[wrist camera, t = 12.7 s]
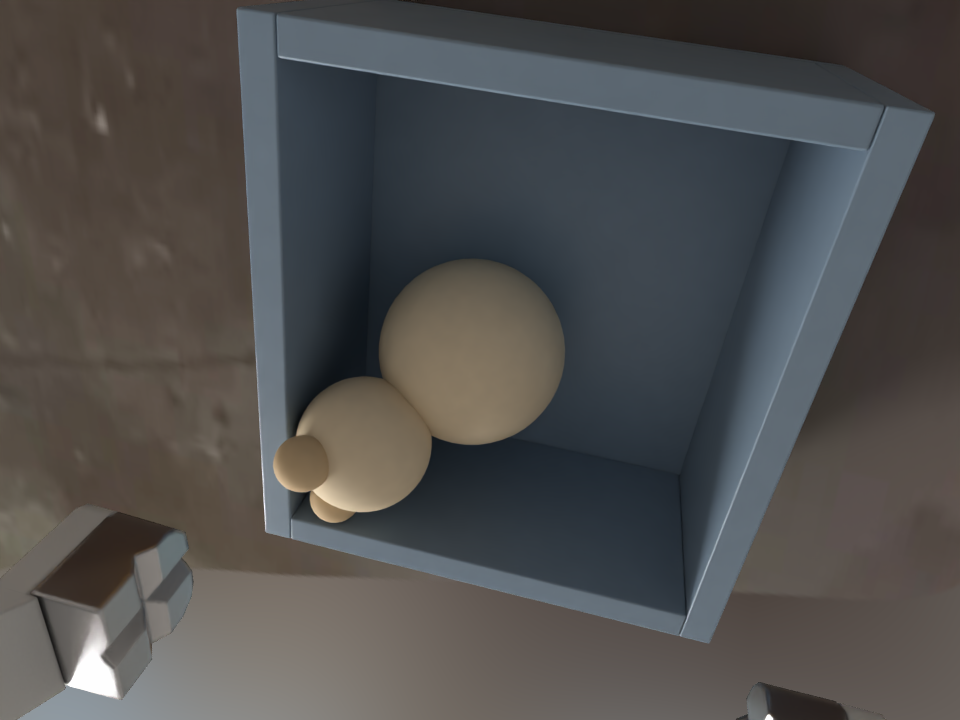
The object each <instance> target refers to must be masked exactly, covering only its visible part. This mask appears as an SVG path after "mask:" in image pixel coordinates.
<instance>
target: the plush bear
mask: <svg viewBox="0 0 960 720" xmlns="http://www.w3.org/2000/svg"><path fill="white" fill-rule="evenodd" d="M564 361H565V343H564V335H563V331H562V327H561V323H560V320H559V317H558V315H557V313H556V311H555V309H554V307H553V305H552V303H551V302H550V300H549V299H548V297H547V296H546V294H545V293H544V292H543V291H542V290H541V289H540V288H539V286H538V285H537V284H535V283H534V282H533V281H532V280H531V279H530V278H528V277H527V276H525V275H524V274H522V273H521V272H519V271H518V270H516V269H514V268H512V267H509V266H507V265H505V264H502V263H499V262H495V261H491V260H485V259H458V260H453V261H449V262H446V263H443V264H440V265H437V266H434V267H432V268H430V269H428V270H426V271H424V272H423V273H421V274H420V275H418V276H417V277H416V278H414V279H413V280H412V281H411V282H410V283H409V284H408V285H406V286H405V287H404V289H403V290H402V291H401V292H400V293H399V295H398V296H397V297H396V298H395V300H394V302H393V303H392V305H391V306H390V308H389V310H388V312H387V315H386V317H385V319H384V323H383V326H382V329H381V334H380V341H379V363H380V370H381V374H382V378H383V379H382V378H377V377H368V376H361V377H352V378H348V379H344V380H342V381H339V382H336V383H334V384H333V385H331V386H329V387H327V388H326V389H324V390H323V391H322V392H320V393H319V394H318V395H317V396H316V397H315V398H314V399H313V400H312V401H311V403H310V404H309V405H308V406H307V408H306V410H305V411H304V413H303V415H302V417H301V419H300V421H299V425H298V428H297V432H296V436H294V437H292V438H289V439H288V440H286V441H285V442H284V443H283V444H281V446H280V447H279V448H278V450H277V452H276V454H275V457H274V461H273V468H274V473H275V476H276V478H277V479H278V481H279V482H280V483H281V484H282V485H283V486H284V487H285V488H287V489H289V490H291V491H295V492H308V491H311V492H310V504H311V507H312V509H313V511H314V513H315V514H316V515H317V516H318V517H319V518H320V519H322V520H324V521H326V522H331V523H338V522H342V521H345V520H347V519H349V518H350V517H351V516H353V515H354V514H355V512H371V511H377V510H381V509H384V508H387V507H389V506H392V505H394V504H396V503H397V502H399V501H401V500H402V499H403V498H405V497H406V496H407V495H409V494H410V493H411V492H412V490H413V489H414V488H415V487H416V486H417V485H418V483H419V482H420V481H421V479H422V477H423V475H424V474H425V471H426V469H427V467H428V464H429V460H430V456H431V448H432V437H431V436H434V437H436V438H438V439H441V440H444V441H448V442H451V443H457V444H464V445H480V444H487V443H492V442H496V441H499V440H503V439H505V438H508V437H510V436H512V435H515V434H516V433H518V432H520V431H521V430H523V429H525V428H526V427H527V426H529V425H530V424H531V423H532V422H534V421H535V420H536V419H537V418H538V416H539V415H540V414H541V413H542V412H543V411H544V410H545V409H546V407H547V406H548V404H549V403H550V402H551V400H552V398H553V396H554V395H555V393H556V391H557V388H558V386H559V383H560V380H561V377H562V373H563V368H564Z"/></svg>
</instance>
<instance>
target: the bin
mask: <svg viewBox="0 0 960 720" xmlns="http://www.w3.org/2000/svg"><path fill="white" fill-rule="evenodd" d="M237 26H238V44H239V62H240V80H241V98H242V116H243V134H244V152H245V170H246V188H247V206H248V224H249V242H250V260H251V278H252V296H253V314H254V332H255V350H256V369H257V387H258V405H259V423H260V441H261V459H262V477H263V495H264V513H265V531H266V532H267V533H271V534H275V535H279V536H283V537H287V538H291V537H292V539H295V540H299V541H303V542H306V543H310V544H314V545H318V546H322V547H326V548H330V549H334V550H338V551H342V552H346V553H350V554H354V555H358V556H362V557H366V558H370V559H374V560H378V561H382V562H386V563H390V564H394V565H398V566H402V567H406V568H410V569H414V570H418V571H422V572H426V573H430V574H434V575H438V576H442V577H446V578H450V579H454V580H458V581H462V582H466V583H470V584H474V585H478V586H482V587H486V588H490V589H494V590H498V591H503V592H506V593H510V594H514V595H518V596H522V597H526V598H530V599H534V600H538V601H542V602H546V603H550V604H554V605H558V606H562V607H566V608H570V609H574V610H578V611H582V612H586V613H590V614H594V615H598V616H602V617H606V618H610V619H614V620H618V621H622V622H626V623H630V624H634V625H638V626H642V627H646V628H650V629H654V630H657V631H661V632H665V633H669V634H674V635H679V634H680V636H682V637H686V638H689V639H693V640H697V641H701V642H705V643H710V640H711V638H712V636H713V634H714V631H715V629H716V627H717V624H718V622H719V620H720V617H721V615H722V613H723V610H724V608H725V605H726V603H727V601H728V599H729V596H730V594H731V592H732V589H733V587H734V585H735V582H736V580H737V578H738V575H739V573H740V571H741V568H742V566H743V564H744V561H745V559H746V557H747V554H748V552H749V549H750V547H751V545H752V542H753V540H754V538H755V535H756V533H757V531H758V528H759V526H760V524H761V521H762V519H763V517H764V514H765V512H766V510H767V507H768V505H769V503H770V500H771V498H772V496H773V493H774V491H775V489H776V486H777V484H778V482H779V479H780V477H781V475H782V472H783V470H784V468H785V465H786V463H787V461H788V458H789V456H790V454H791V451H792V449H793V446H794V444H795V442H796V439H797V437H798V435H799V432H800V430H801V428H802V425H803V423H804V421H805V418H806V416H807V414H808V411H809V409H810V407H811V404H812V402H813V400H814V397H815V395H816V393H817V390H818V388H819V386H820V383H821V381H822V379H823V376H824V374H825V372H826V369H827V367H828V365H829V362H830V360H831V358H832V355H833V353H834V351H835V348H836V346H837V344H838V341H839V339H840V336H841V334H842V332H843V329H844V327H845V325H846V322H847V320H848V318H849V315H850V313H851V311H852V308H853V306H854V304H855V301H856V299H857V297H858V294H859V292H860V290H861V287H862V285H863V283H864V280H865V278H866V276H867V273H868V271H869V269H870V266H871V264H872V262H873V259H874V257H875V255H876V252H877V250H878V248H879V245H880V243H881V241H882V238H883V236H884V233H885V231H886V229H887V226H888V224H889V222H890V219H891V217H892V215H893V212H894V210H895V208H896V205H897V203H898V201H899V198H900V196H901V194H902V191H903V189H904V187H905V184H906V182H907V180H908V177H909V175H910V173H911V170H912V168H913V166H914V163H915V161H916V159H917V156H918V154H919V152H920V149H921V147H922V145H923V142H924V140H925V138H926V135H927V133H928V130H929V128H930V126H931V123H932V121H933V119H934V116H935V113H934V112H933V111H931V110H929V109H927V108H925V107H923V106H921V105H919V104H917V103H915V102H913V101H911V100H909V99H908V98H906V97H904V96H902V95H900V94H898V93H896V92H894V91H892V90H890V89H888V88H886V87H885V86H883V85H881V84H879V83H877V82H875V81H873V80H871V79H869V78H867V77H865V76H863V75H861V74H860V73H858V72H856V71H854V70H852V69H850V68H847V67H845V66H843V65H838V64H832V63H825V62H818V61H811V60H804V59H797V58H790V57H783V56H777V55H770V54H763V53H756V52H749V51H742V50H735V49H728V48H722V47H715V46H708V45H701V44H694V43H687V42H680V41H673V40H667V39H660V38H653V37H646V36H639V35H632V34H625V33H618V32H612V31H605V30H598V29H591V28H584V27H577V26H570V25H563V24H557V23H550V22H543V21H536V20H529V19H522V18H515V17H508V16H502V15H495V14H488V13H481V12H474V11H467V10H460V9H453V8H446V7H440V6H433V5H426V4H419V3H412V2H405V1H398V0H305V1H295V2H285V3H275V4H264V5H254V6H244V7H238V8H237ZM458 259H485V260H491V261H495V262H499V263H502V264H505V265H507V266H509V267H512V268H514V269H516V270H518V271H519V272H521V273H522V274H524V275H525V276H527V277H528V278H530V279H531V280H532V281H533V282H534V283H535V284H537V285H538V286H539V288H540V289H541V290H542V291H543V292H544V293H545V294H546V296H547V297H548V299H549V300H550V302H551V303H552V305H553V307H554V309H555V311H556V313H557V315H558V317H559V320H560V323H561V327H562V331H563V335H564V343H565V361H564V368H563V373H562V377H561V380H560V383H559V386H558V388H557V391H556V393H555V395H554V396H553V398H552V400H551V402H550V403H549V404H548V406H547V407H546V409H545V410H544V411H543V412H542V413H541V414H540V415H539V416H538V418H537V419H536V420H535V421H534V422H532V423H531V424H530V425H529V426H527V427H526V428H525V429H523V430H521V431H520V432H518V433H516V434H515V435H512V436H510V437H508V438H505V439H503V440H499V441H496V442H492V443H487V444H480V445H464V444H457V443H451V442H448V441H444V440H441V439H438V438H436V437H434V436H431V437H432V448H431V456H430V460H429V464H428V467H427V469H426V471H425V474H424V475H423V477H422V479H421V481H420V482H419V483H418V485H417V486H416V487H415V488H414V489H413V490H412V492H411V493H410V494H409V495H407V496H406V497H405V498H403V499H402V500H401V501H399V502H397V503H396V504H394V505H392V506H389V507H387V508H384V509H381V510H377V511H371V512H355V514H354V515H353V516H351V517H350V518H349V519H347V520H345V521H342V522H338V523H331V522H326V521H324V520H322V519H320V518H319V517H318V516H317V515H316V514H315V513H314V511H313V509H312V507H311V504H310V492H311V491H308V492H295V491H291V490H289V489H287V488H285V487H284V486H283V485H282V484H281V483H280V482H279V481H278V479H277V478H276V476H275V473H274V468H273V461H274V457H275V454H276V452H277V450H278V448H279V447H280V446H281V444H283V443H284V442H285V441H286V440H288V439H289V438H292V437H294V436H296V432H297V428H298V425H299V421H300V419H301V417H302V415H303V413H304V411H305V410H306V408H307V406H308V405H309V404H310V403H311V401H312V400H313V399H314V398H315V397H316V396H317V395H318V394H319V393H320V392H322V391H323V390H324V389H326V388H327V387H329V386H331V385H333V384H334V383H336V382H339V381H342V380H344V379H348V378H352V377H361V376H368V377H377V378H382V374H381V370H380V363H379V341H380V334H381V329H382V326H383V323H384V319H385V317H386V315H387V312H388V310H389V308H390V306H391V305H392V303H393V302H394V300H395V298H396V297H397V296H398V295H399V293H400V292H401V291H402V290H403V289H404V287H405V286H406V285H408V284H409V283H410V282H411V281H412V280H413V279H414V278H416V277H417V276H418V275H420V274H421V273H423V272H424V271H426V270H428V269H430V268H432V267H434V266H437V265H440V264H443V263H446V262H449V261H453V260H458ZM382 379H383V378H382Z"/></svg>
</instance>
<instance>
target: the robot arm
mask: <svg viewBox="0 0 960 720" xmlns="http://www.w3.org/2000/svg"><path fill="white" fill-rule="evenodd" d="M188 549H189V547H188V542H187V537H186V532H184V531H181V530H178V529H174V528H171V527H168V526H164V525H161V524H157V523H154V522H151V521H147V520H144V519H141V518H137V517H134V516H130V515H127V514H124V513H120V512H117V511H113V510H109V509H106V508H102V507H99V506H95V505H91V504H86V505H84V506H81V507H79V508H77V509H75V510H74V511H73V512H72V513H70V514H69V515H68V516H67V517H66V518H65V519H64V520H63V521H62V522H61V523H60V524H58V525H57V526H56V527H55V528H54V529H53V530H52V531H51V532H50V533H49V534H48V535H46V536H45V537H44V538H43V539H42V540H41V541H40V542H39V543H38V544H37V545H36V546H35V547H33V548H32V549H31V550H30V551H29V552H28V553H27V554H26V555H25V556H24V557H23V558H21V559H20V560H19V561H18V562H17V563H16V564H15V565H14V566H13V567H12V568H11V569H9V570H8V571H7V572H6V573H5V574H4V575H3V576H2V577H1V578H0V720H17V719H18V718H20V717H21V716H23V715H25V714H26V713H28V712H30V711H31V710H33V709H34V708H36V707H38V706H39V705H41V704H42V703H44V702H46V701H47V700H49V699H50V698H52V697H54V696H55V695H57V694H58V693H60V692H61V691H63V690H65V688H66V687H65V685H68V686H71V687H75V688H79V689H82V690H86V691H90V692H93V693H97V694H101V695H104V696H108V697H112V698H115V699H119V700H122V699H123V698H124V696H125V695H126V694H127V692H128V691H129V690H130V688H131V687H132V686H133V684H134V683H135V682H136V680H137V679H138V678H139V676H140V675H141V674H142V672H143V671H144V669H145V668H146V667H147V665H148V664H149V663H150V661H151V660H152V643H154V642H156V641H158V640H159V639H161V638H163V637H165V636H167V635H169V634H171V633H172V632H173V630H174V629H175V627H176V626H177V624H178V623H179V622H180V620H181V619H182V617H183V615H184V613H185V611H186V608H187V606H188V604H189V601H190V599H191V596H192V589H193V575H192V570H191V568H190V567H189V566H188V565H187V563H186V562H185V561H184V560H183V558H182V556H183V555H184V554H185V553H186V551H187V550H188ZM747 708H748V714H747V715H744V716H742V717H740V718H737V719H736V720H886V719H885V718H884V716H883V715H882V714H878V713H874V712H871V711H867V710H863V709H860V708H856V707H852V706H848V705H844V704H839V703H837V702H836V701H833V700H829V699H824V698H821V697H817V696H813V695H809V694H805V693H800V692H796V691H793V690H788V689H785V688H781V687H777V686H773V685H768V684H765V683H761V682H758V683H757V684H756V685H754V686H753V687H752V689H751V691H750V693H749V695H748V696H747Z"/></svg>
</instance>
